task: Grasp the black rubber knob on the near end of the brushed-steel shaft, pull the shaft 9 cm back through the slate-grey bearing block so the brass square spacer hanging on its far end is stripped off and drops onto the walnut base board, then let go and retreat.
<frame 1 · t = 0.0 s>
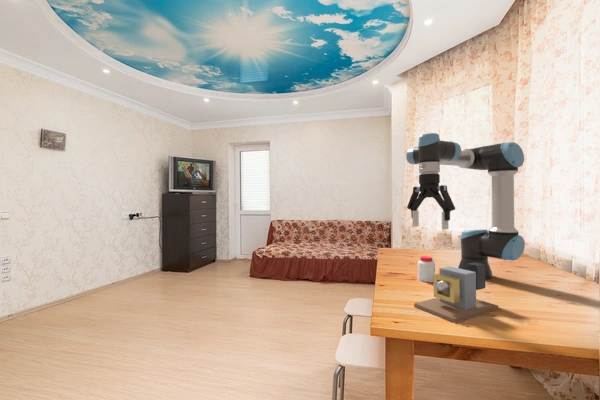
hand: (429, 227, 115), 28 cm above the table, fingers open, 13 cm apart
spacer: (446, 299, 104), point 4 cm above the table, touching shaft
bearing block: (457, 307, 107), on the table
shaft: (460, 279, 107), point 10 cm above the table, slide at 0.0 cm, touching spacer
pill bottle: (426, 280, 142), on the table
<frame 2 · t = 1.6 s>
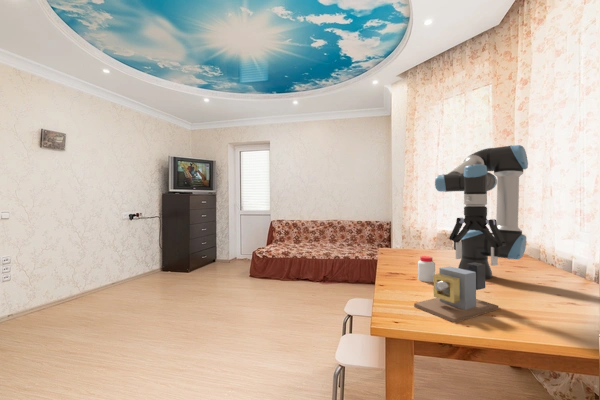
hand: (475, 261, 111), 15 cm above the table, fingers open, 13 cm apart
nothing on the table moved.
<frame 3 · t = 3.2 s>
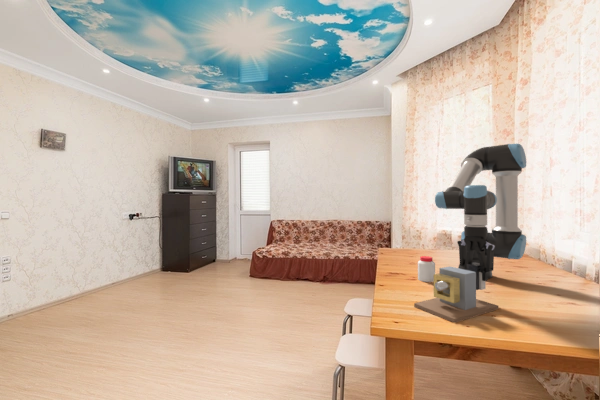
hand: (476, 287, 112), 6 cm above the table, fingers closed on shaft, 4 cm apart
shaft: (460, 279, 107), point 10 cm above the table, slide at 0.0 cm, touching gripper, spacer
everything else where it was.
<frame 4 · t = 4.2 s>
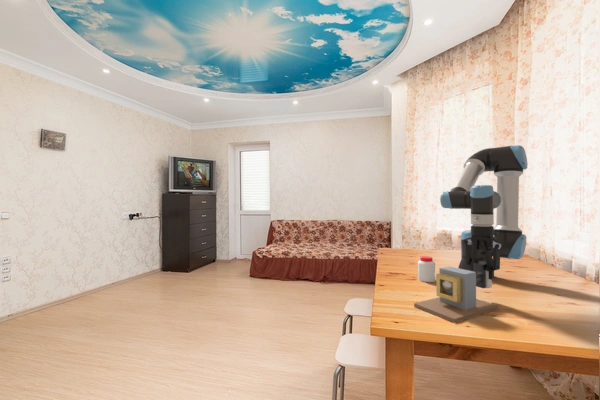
hand: (482, 285, 113), 6 cm above the table, fingers closed on shaft, 4 cm apart
spacer: (449, 298, 104), point 4 cm above the table
shaft: (467, 277, 109), point 10 cm above the table, slide at 4.0 cm, touching gripper
everything else where it was.
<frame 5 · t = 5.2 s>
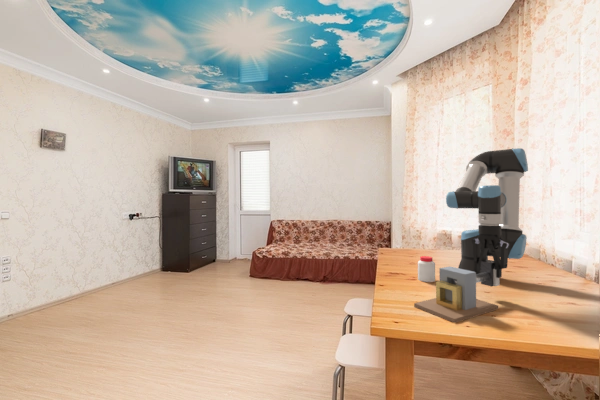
hand: (490, 283, 116), 6 cm above the table, fingers closed on shaft, 4 cm apart
spacer: (448, 306, 104), point 1 cm above the table, touching bearing block
shaft: (475, 275, 111), point 10 cm above the table, slide at 8.9 cm, touching gripper
everything else where it was.
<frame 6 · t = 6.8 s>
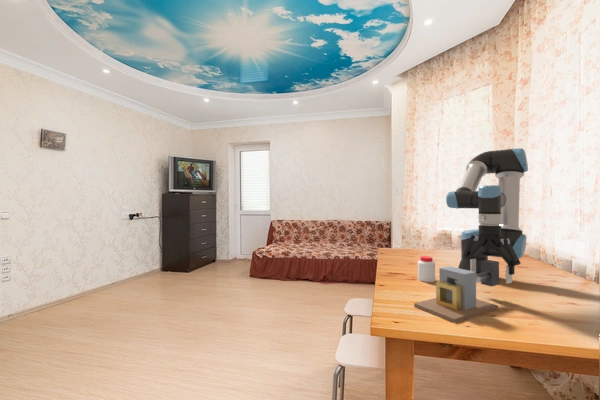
hand: (490, 278, 116), 8 cm above the table, fingers open, 13 cm apart
shaft: (475, 275, 111), point 10 cm above the table, slide at 8.9 cm
everything else where it was.
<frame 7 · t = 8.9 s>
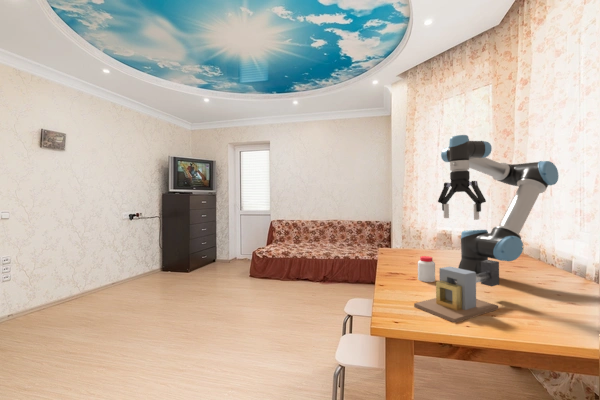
hand: (460, 218, 130), 30 cm above the table, fingers open, 13 cm apart
nothing on the table moved.
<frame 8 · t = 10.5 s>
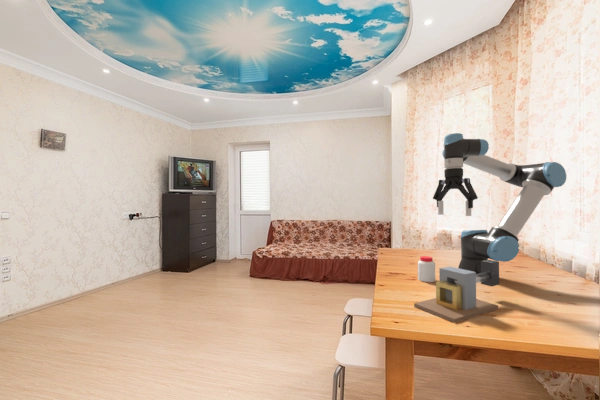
hand: (454, 215, 133), 32 cm above the table, fingers open, 13 cm apart
nothing on the table moved.
at the end: shaft slide at 8.9 cm; spacer point 1.2 cm above the table; spacer touching bearing block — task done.
